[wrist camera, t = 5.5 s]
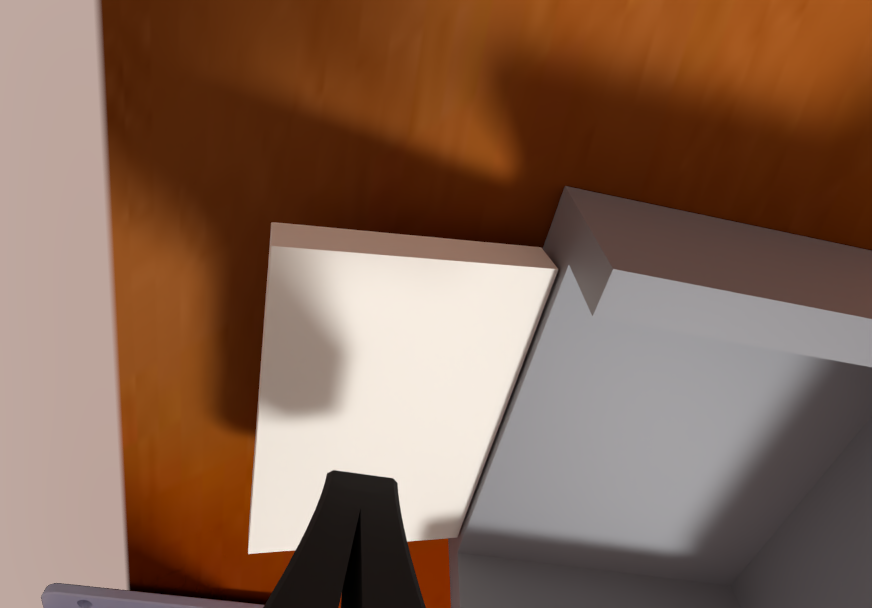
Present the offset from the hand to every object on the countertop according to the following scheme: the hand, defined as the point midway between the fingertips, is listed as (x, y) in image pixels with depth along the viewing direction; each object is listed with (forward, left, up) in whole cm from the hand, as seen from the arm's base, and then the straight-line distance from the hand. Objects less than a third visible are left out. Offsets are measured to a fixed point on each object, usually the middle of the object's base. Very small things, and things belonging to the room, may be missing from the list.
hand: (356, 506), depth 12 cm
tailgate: (+3, 0, -4) cm, 5 cm away
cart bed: (+8, 0, -5) cm, 10 cm away
